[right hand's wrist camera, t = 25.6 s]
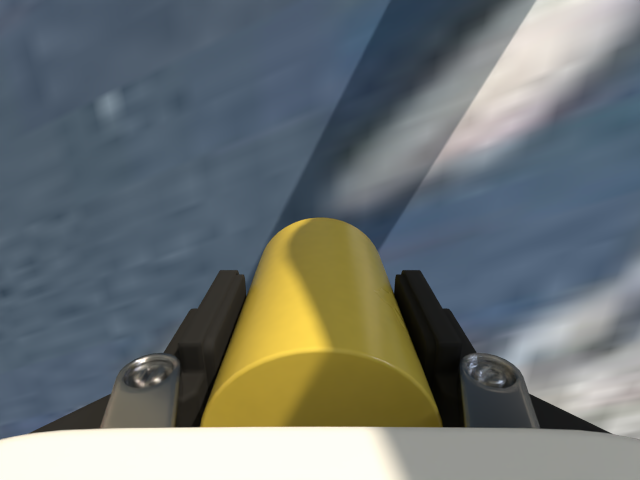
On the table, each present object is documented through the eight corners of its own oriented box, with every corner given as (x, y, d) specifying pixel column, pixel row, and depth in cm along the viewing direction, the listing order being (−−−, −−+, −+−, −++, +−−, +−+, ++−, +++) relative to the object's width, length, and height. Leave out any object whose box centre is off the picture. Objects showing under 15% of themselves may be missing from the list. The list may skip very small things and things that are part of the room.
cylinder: (389, 318, 15) (451, 518, 8) (273, 337, 16) (233, 545, 8) (373, 206, 14) (436, 329, 6) (245, 228, 14) (163, 371, 7)
